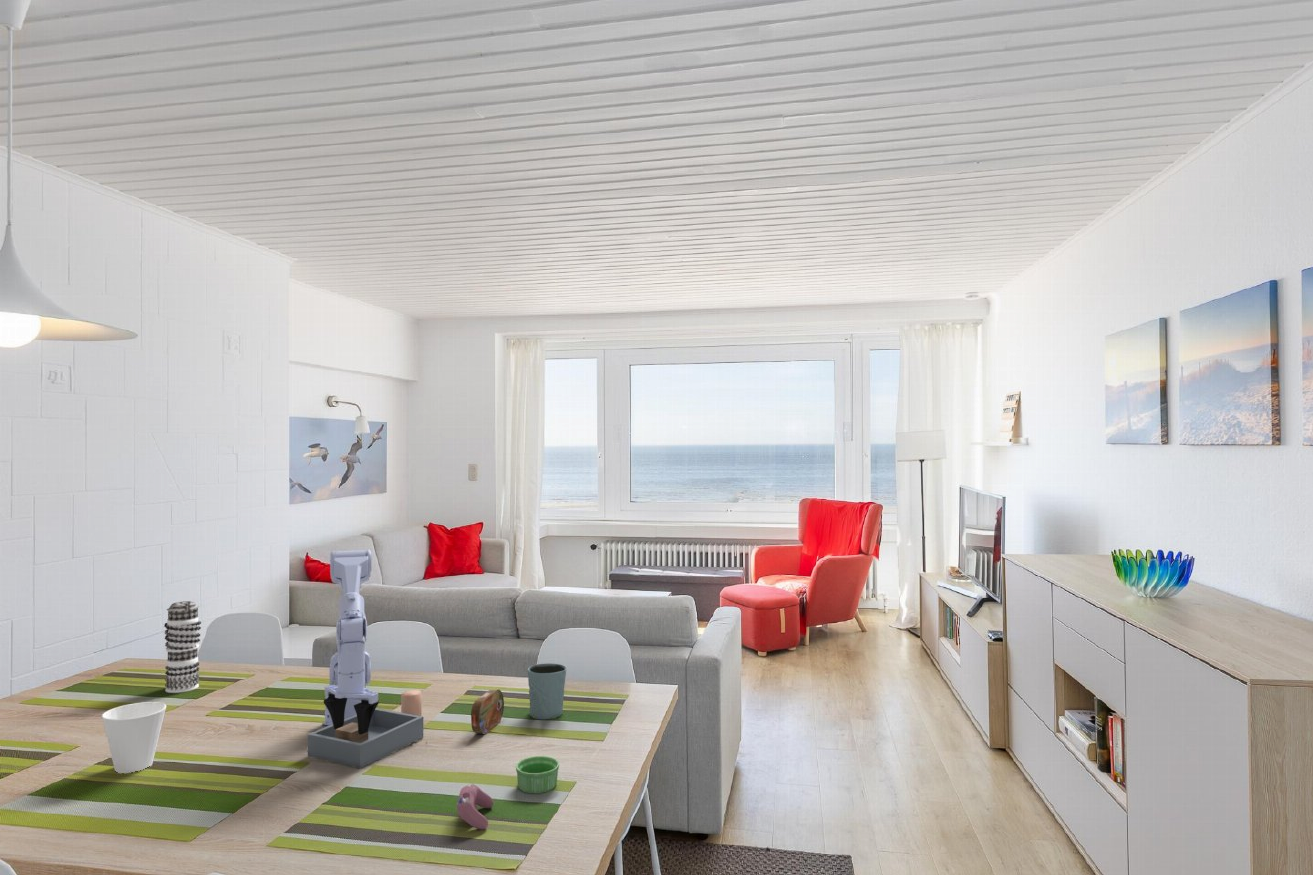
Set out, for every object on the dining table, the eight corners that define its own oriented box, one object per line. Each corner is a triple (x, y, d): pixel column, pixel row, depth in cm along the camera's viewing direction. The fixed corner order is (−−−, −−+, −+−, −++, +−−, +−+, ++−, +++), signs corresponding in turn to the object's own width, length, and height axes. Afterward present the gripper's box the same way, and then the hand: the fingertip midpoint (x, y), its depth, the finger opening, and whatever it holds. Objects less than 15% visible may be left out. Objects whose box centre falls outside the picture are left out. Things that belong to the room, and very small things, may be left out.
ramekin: (539, 799, 153) (539, 777, 153) (506, 788, 158) (506, 767, 158) (568, 782, 161) (568, 761, 161) (535, 773, 165) (535, 752, 166)
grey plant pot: (520, 716, 200) (520, 670, 200) (540, 705, 210) (540, 661, 210) (554, 722, 196) (554, 675, 197) (572, 709, 206) (573, 664, 206)
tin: (480, 739, 185) (480, 704, 185) (468, 738, 186) (468, 703, 186) (505, 717, 200) (505, 685, 200) (493, 717, 200) (493, 684, 200)
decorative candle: (188, 693, 220) (189, 605, 220) (156, 693, 220) (157, 605, 220) (207, 683, 229) (208, 599, 229) (176, 683, 229) (177, 599, 229)
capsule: (396, 722, 196) (397, 694, 197) (410, 715, 201) (410, 689, 201) (412, 724, 194) (412, 697, 194) (425, 718, 199) (425, 691, 199)
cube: (335, 751, 175) (335, 729, 175) (352, 743, 179) (352, 722, 179) (351, 754, 172) (351, 732, 173) (368, 747, 177) (368, 725, 177)
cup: (95, 782, 160) (96, 723, 161) (105, 762, 171) (106, 706, 171) (162, 771, 166) (163, 714, 166) (168, 752, 176) (169, 698, 177)
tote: (307, 756, 174) (307, 734, 174) (373, 727, 192) (373, 707, 193) (360, 768, 168) (360, 745, 168) (423, 737, 186) (423, 716, 186)
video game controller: (474, 814, 150) (458, 783, 149) (495, 803, 150) (479, 771, 150) (466, 840, 140) (449, 806, 140) (489, 828, 140) (472, 794, 140)
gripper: (314, 671, 175) (313, 731, 175) (361, 679, 169) (361, 741, 169) (338, 663, 182) (338, 721, 181) (385, 671, 176) (384, 730, 175)
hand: (350, 730), depth 176 cm, fingers open, 7 cm apart
